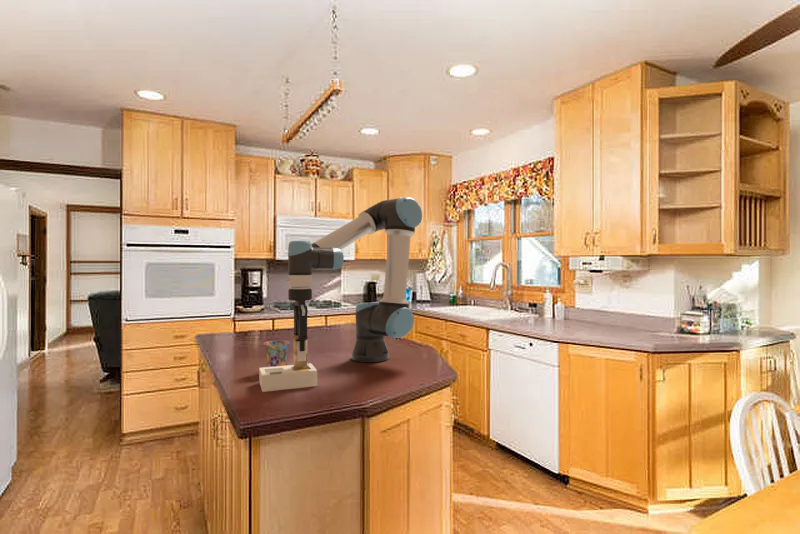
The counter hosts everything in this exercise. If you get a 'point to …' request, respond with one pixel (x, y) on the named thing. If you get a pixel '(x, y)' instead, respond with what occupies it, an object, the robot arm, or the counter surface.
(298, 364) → the peg
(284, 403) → the counter surface
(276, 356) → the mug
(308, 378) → the socket block
